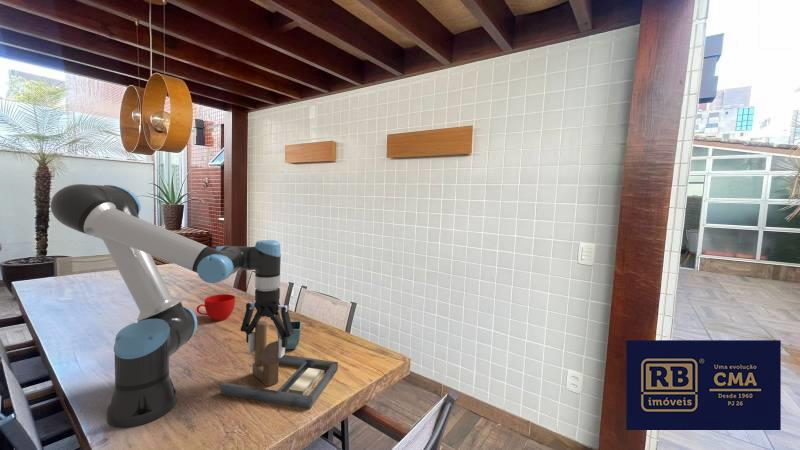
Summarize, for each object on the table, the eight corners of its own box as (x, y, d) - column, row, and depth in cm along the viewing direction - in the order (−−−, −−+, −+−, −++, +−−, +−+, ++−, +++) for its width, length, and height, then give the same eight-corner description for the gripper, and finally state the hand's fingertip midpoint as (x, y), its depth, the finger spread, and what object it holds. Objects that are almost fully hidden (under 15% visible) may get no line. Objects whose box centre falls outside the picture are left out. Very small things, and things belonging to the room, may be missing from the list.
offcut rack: (310, 408, 93) (310, 398, 93) (220, 394, 98) (220, 384, 98) (337, 370, 115) (337, 362, 115) (262, 359, 120) (262, 351, 119)
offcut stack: (302, 402, 97) (302, 392, 97) (287, 399, 98) (287, 389, 98) (324, 374, 113) (324, 366, 112) (310, 372, 114) (311, 364, 113)
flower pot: (276, 352, 125) (276, 330, 125) (278, 343, 134) (279, 321, 133) (300, 351, 128) (300, 329, 127) (300, 341, 136) (301, 320, 136)
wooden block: (268, 387, 103) (268, 331, 101) (252, 374, 110) (252, 322, 108) (278, 382, 105) (279, 328, 104) (262, 370, 112) (263, 319, 111)
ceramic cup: (190, 321, 152) (190, 300, 151) (226, 311, 166) (226, 292, 165) (203, 328, 144) (203, 306, 144) (240, 317, 159) (240, 298, 158)
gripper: (305, 288, 107) (303, 353, 109) (243, 282, 111) (242, 345, 112) (294, 294, 100) (292, 364, 101) (228, 287, 103) (227, 355, 105)
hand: (266, 354), depth 107 cm, fingers closed on wooden block, 10 cm apart
